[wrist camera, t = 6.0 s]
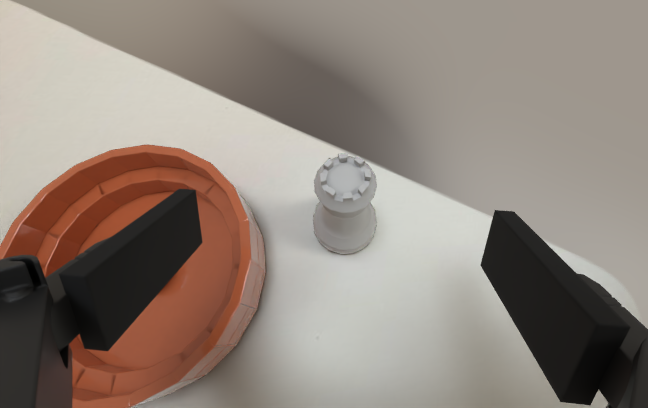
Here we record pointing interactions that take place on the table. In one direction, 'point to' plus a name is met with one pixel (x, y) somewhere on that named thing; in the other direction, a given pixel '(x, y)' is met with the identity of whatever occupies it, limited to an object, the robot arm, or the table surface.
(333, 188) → the rook chess piece
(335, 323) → the table surface
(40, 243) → the bowl
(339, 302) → the table surface
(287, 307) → the table surface
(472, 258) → the table surface
